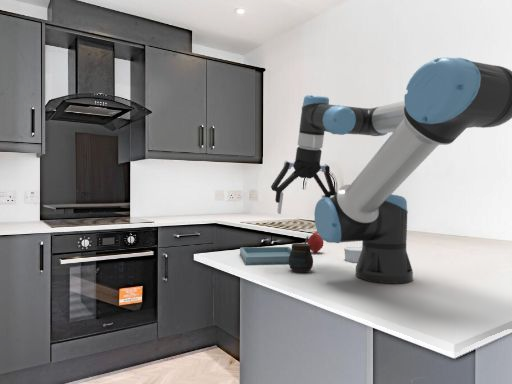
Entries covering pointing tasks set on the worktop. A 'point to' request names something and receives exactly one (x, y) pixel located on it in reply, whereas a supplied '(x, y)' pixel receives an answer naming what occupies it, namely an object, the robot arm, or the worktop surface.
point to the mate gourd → (301, 257)
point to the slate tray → (265, 255)
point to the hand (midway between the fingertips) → (300, 214)
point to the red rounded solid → (315, 242)
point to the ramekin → (352, 253)
